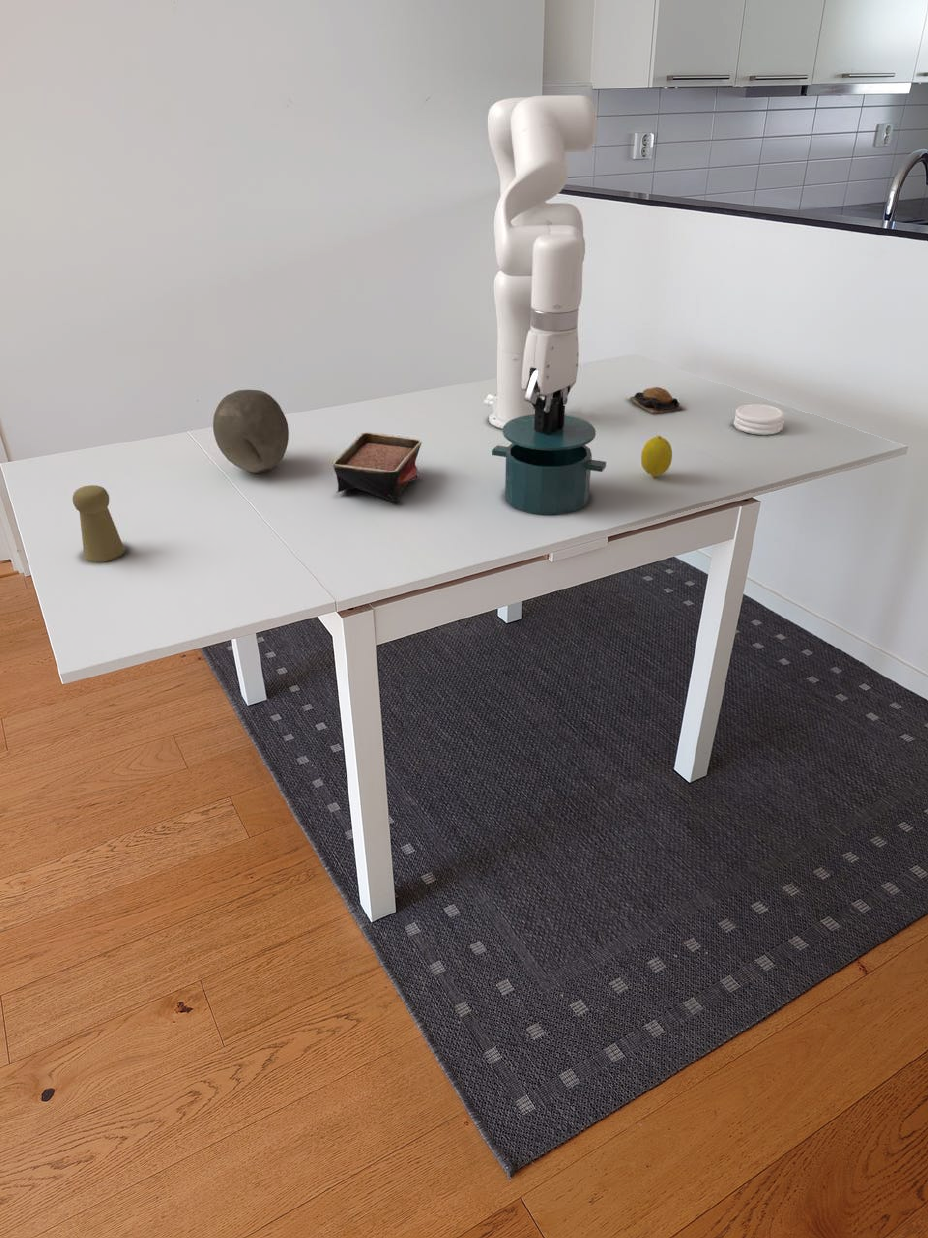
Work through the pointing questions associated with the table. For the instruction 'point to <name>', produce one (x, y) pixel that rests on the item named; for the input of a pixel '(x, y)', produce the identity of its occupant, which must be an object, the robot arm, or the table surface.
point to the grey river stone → (251, 430)
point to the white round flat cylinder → (759, 419)
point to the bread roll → (656, 401)
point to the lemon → (656, 456)
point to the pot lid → (559, 439)
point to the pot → (547, 478)
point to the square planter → (378, 464)
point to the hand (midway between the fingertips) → (549, 428)
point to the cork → (97, 524)
